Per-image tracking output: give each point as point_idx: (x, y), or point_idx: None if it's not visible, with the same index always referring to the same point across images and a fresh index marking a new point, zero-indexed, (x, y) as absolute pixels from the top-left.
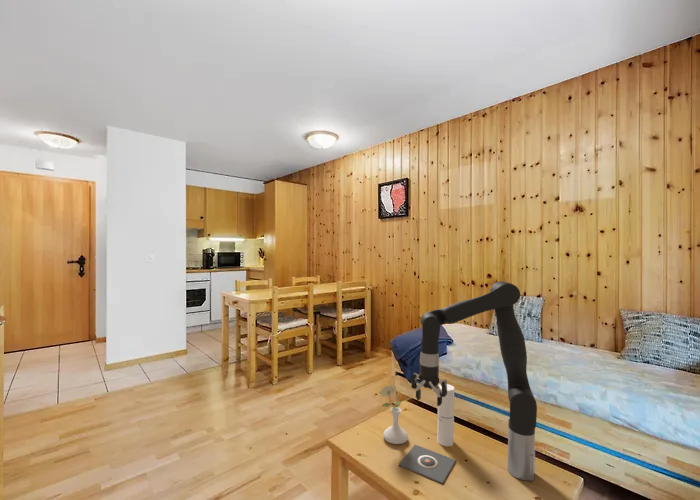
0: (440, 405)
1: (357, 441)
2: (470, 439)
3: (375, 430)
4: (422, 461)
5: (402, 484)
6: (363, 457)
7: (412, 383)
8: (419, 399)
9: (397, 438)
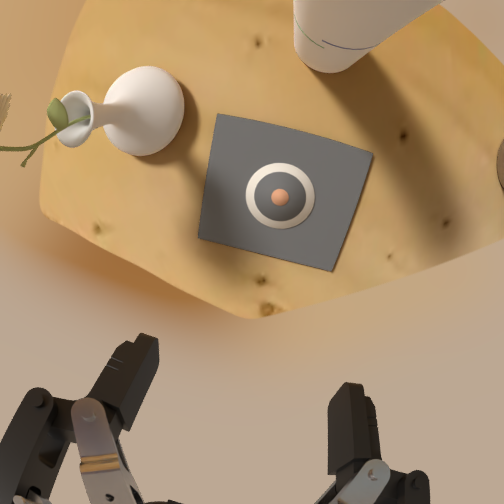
0: (324, 15)
1: (69, 180)
2: None
3: None
4: (263, 205)
5: (230, 297)
6: (110, 237)
7: (45, 454)
8: (157, 353)
9: (151, 145)
